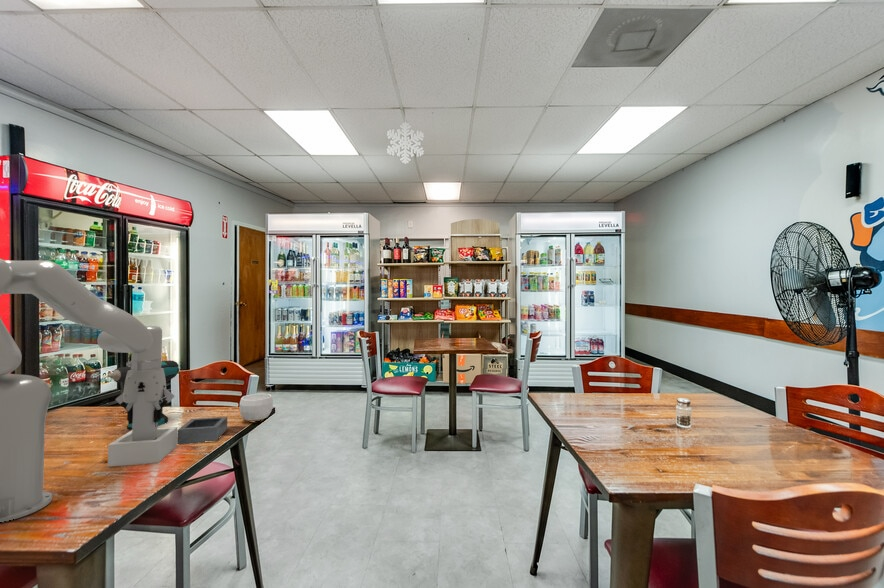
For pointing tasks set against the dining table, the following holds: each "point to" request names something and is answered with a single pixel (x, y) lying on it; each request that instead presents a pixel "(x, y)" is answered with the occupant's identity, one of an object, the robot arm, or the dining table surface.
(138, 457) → the light grey square tray
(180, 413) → the dining table surface
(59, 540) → the dining table surface
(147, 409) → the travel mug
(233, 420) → the dining table surface
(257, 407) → the cup
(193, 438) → the socket block
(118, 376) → the power drill
